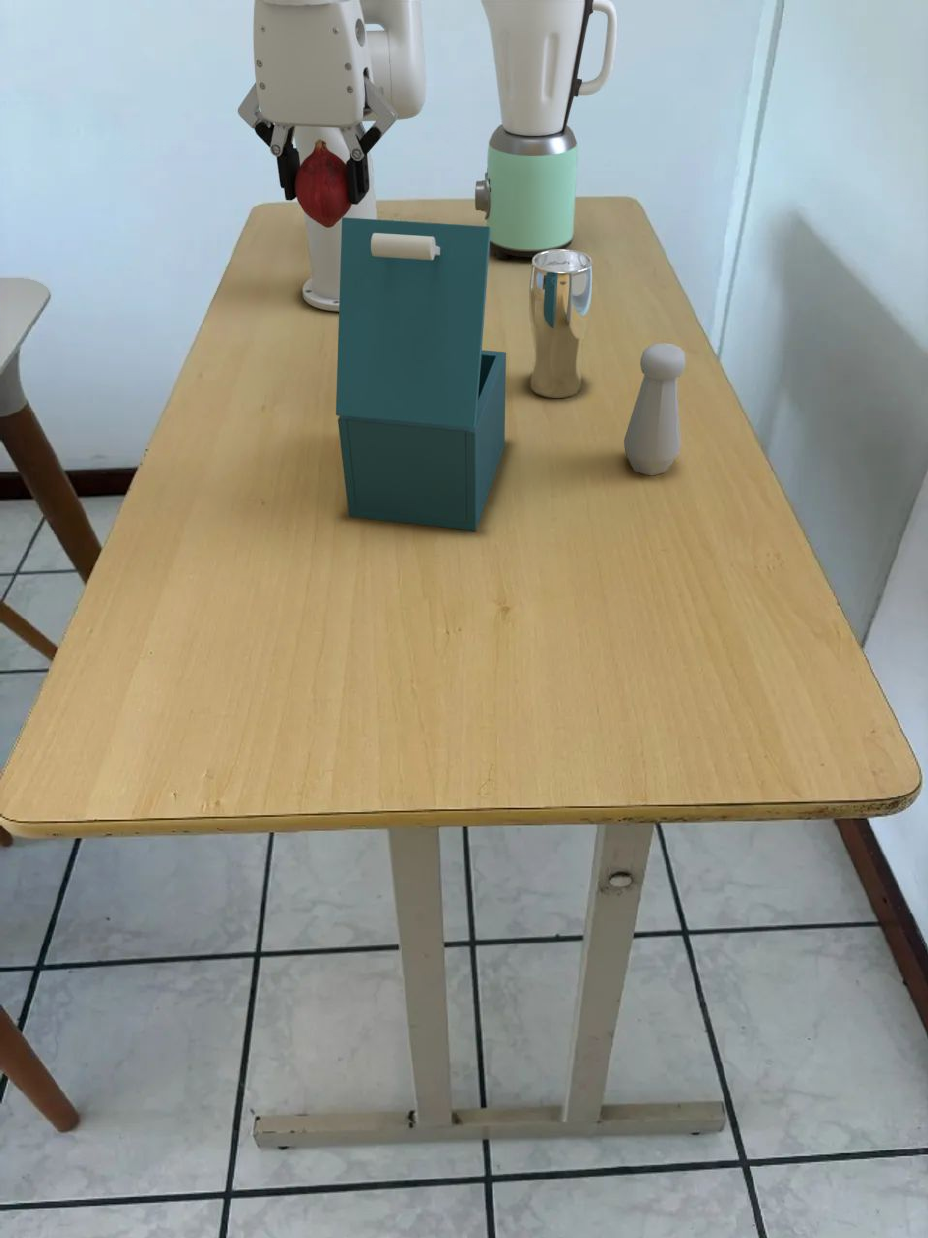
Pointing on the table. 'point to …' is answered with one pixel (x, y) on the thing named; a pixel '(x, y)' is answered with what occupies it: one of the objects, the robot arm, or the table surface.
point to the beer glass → (559, 319)
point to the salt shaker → (656, 411)
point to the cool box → (427, 461)
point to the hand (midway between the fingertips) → (325, 196)
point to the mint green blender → (537, 120)
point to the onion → (323, 186)
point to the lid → (411, 320)
